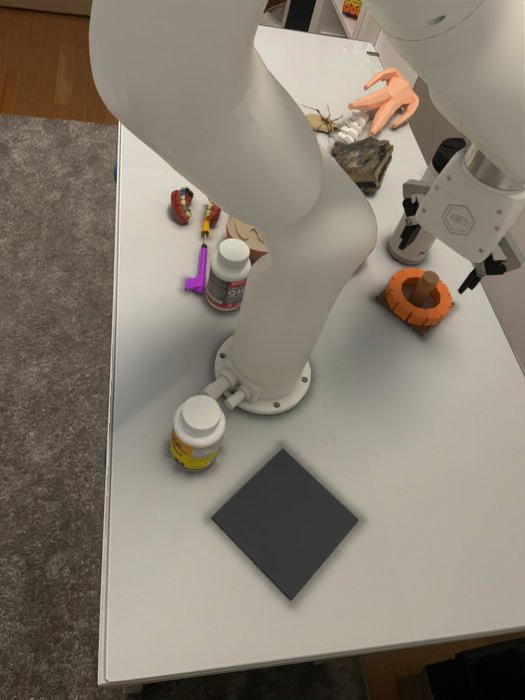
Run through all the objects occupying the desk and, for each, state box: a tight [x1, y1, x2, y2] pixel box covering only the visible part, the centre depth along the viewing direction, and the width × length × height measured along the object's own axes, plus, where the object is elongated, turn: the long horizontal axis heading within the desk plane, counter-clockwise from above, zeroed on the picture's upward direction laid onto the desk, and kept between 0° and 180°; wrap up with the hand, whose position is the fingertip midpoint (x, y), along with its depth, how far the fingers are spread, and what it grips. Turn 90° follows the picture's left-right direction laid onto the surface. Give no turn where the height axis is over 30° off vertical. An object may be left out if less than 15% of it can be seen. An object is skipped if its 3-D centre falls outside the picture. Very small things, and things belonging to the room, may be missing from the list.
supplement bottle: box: [170, 394, 227, 472], centre depth 61 cm, size 6×6×10 cm
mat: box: [211, 447, 360, 601], centre depth 62 cm, size 12×12×1 cm
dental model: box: [170, 185, 222, 225], centre depth 84 cm, size 6×4×8 cm
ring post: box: [374, 270, 455, 337], centre depth 82 cm, size 9×9×6 cm
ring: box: [385, 267, 453, 326], centre depth 83 cm, size 10×10×2 cm
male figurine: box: [347, 67, 420, 138], centre depth 108 cm, size 11×5×25 cm
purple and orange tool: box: [185, 215, 211, 295], centre depth 81 cm, size 3×1×16 cm
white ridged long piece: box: [336, 109, 370, 145], centre depth 105 cm, size 12×4×2 cm, turn 156°
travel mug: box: [387, 137, 466, 266], centre depth 82 cm, size 6×7×20 cm
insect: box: [298, 103, 345, 137], centre depth 104 cm, size 9×10×2 cm
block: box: [331, 142, 346, 158], centre depth 101 cm, size 4×6×2 cm, turn 62°
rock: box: [335, 135, 395, 193], centre depth 96 cm, size 9×9×6 cm
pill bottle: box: [205, 238, 252, 312], centre depth 74 cm, size 5×5×10 cm
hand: (434, 265), depth 74 cm, fingers open, 9 cm apart
